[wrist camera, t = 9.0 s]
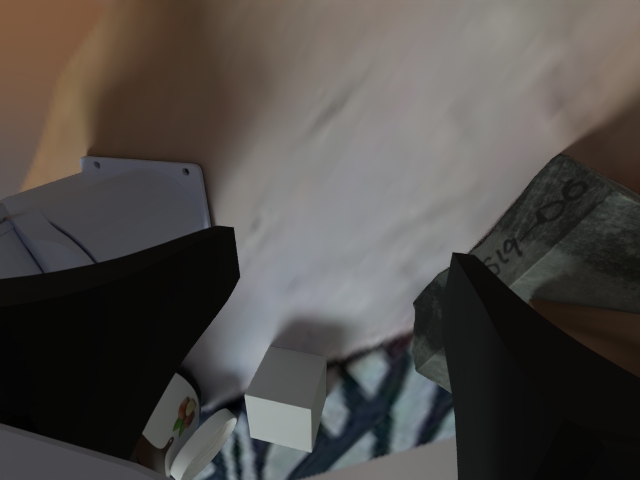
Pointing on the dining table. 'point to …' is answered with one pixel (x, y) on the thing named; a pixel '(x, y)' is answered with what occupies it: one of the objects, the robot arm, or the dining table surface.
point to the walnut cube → (598, 330)
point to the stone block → (550, 253)
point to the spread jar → (181, 432)
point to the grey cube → (287, 398)
